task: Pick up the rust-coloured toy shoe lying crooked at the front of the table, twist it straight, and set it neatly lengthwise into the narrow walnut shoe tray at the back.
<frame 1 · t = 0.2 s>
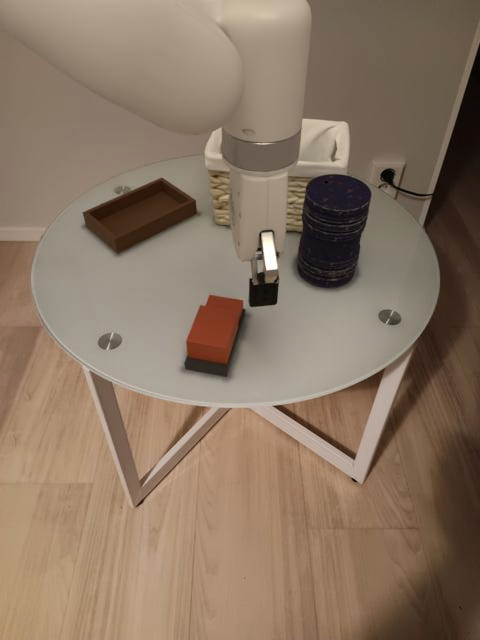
hand: (256, 276, 61), 15 cm above the table, tool pointing down, fingers open, 9 cm apart
shoe tray: (142, 220, 95), on the table
storage jar: (325, 269, 86), on the table
shoe: (216, 341, 74), on the table
basket: (275, 209, 97), on the table
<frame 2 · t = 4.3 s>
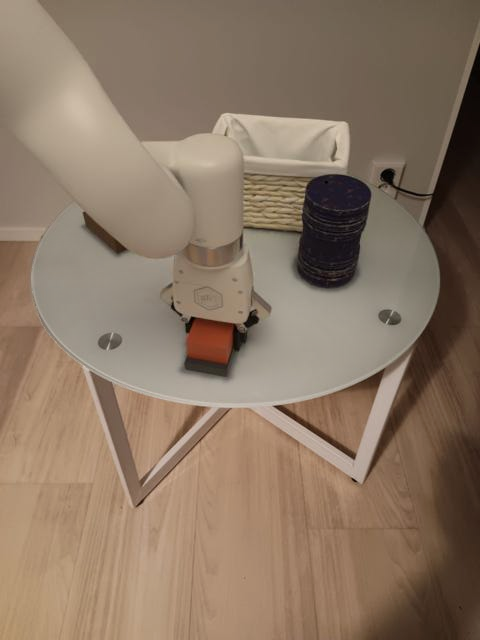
hand: (216, 338, 74), 1 cm above the table, tool pointing down, fingers closed on shoe, 6 cm apart
shoe: (216, 341, 74), on the table, touching gripper
everything else where it was.
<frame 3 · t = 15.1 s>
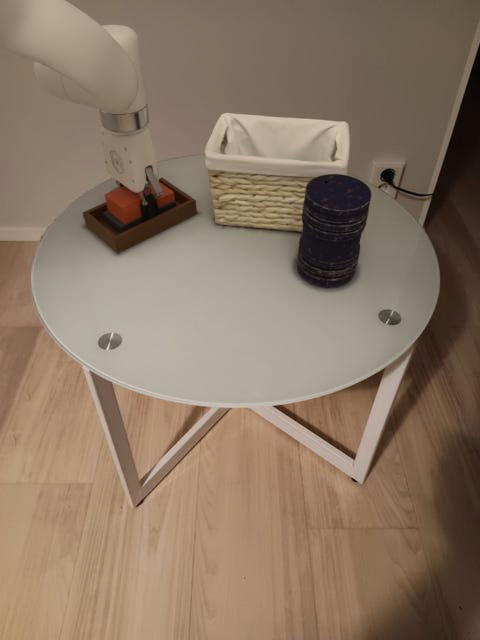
hand: (140, 211, 93), 2 cm above the table, tool pointing down, fingers closed on shoe, 6 cm apart
shoe: (140, 213, 94), point 1 cm above the table, touching gripper
everything else where it was.
when the fingers open (3 cm above the table, at t = 18.9 s): shoe drops 1 cm, resting on shoe tray.
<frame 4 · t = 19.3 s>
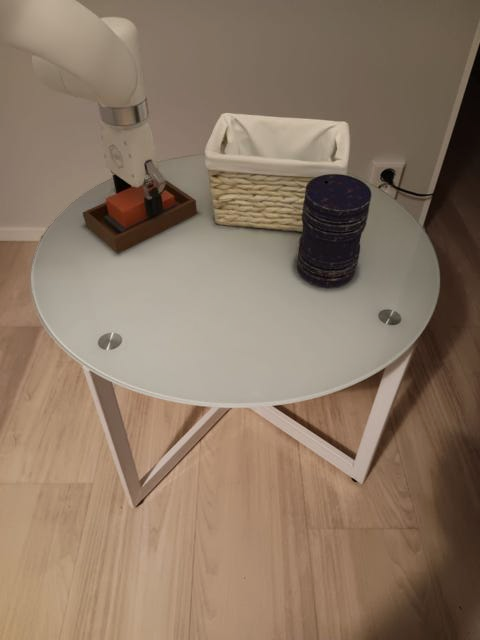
hand: (139, 202, 92), 4 cm above the table, tool pointing down, fingers open, 9 cm apart
shoe: (141, 217, 94), point 1 cm above the table, touching shoe tray
everything else where it was.
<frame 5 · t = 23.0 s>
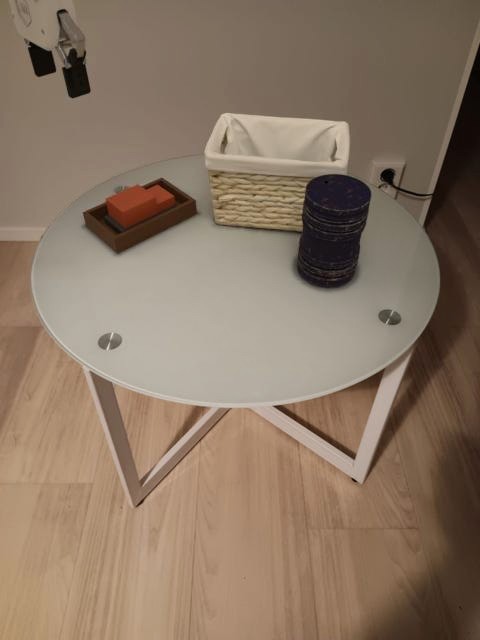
hand: (62, 84, 73), 26 cm above the table, tool pointing down, fingers open, 9 cm apart
nothing on the table moved.
at the end: shoe 0.1 cm off-centre in the shoe tray, point 0.6 cm above the shoe tray's base; shoe tilted 0°; the gripper is holding nothing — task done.
